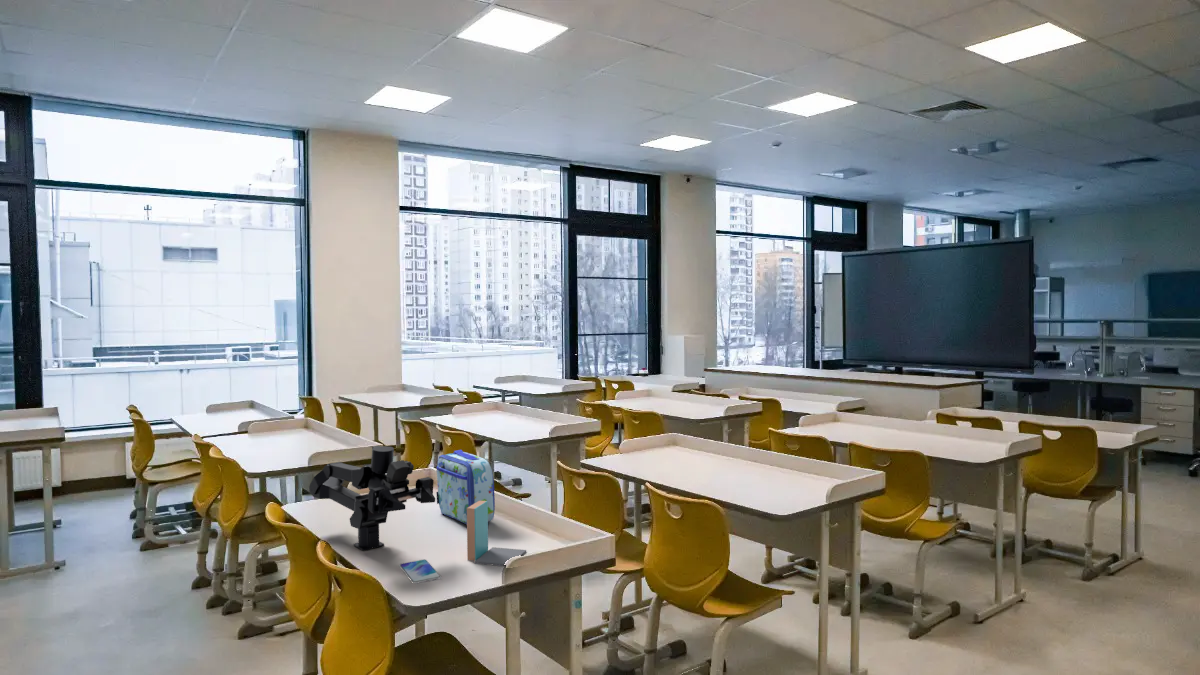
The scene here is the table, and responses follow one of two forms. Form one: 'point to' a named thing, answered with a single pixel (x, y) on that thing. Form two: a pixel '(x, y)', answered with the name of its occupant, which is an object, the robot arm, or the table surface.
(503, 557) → the rubber mat
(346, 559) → the table surface
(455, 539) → the table surface
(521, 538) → the table surface
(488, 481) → the lunch box
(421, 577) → the smartphone
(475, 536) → the glazed tile
